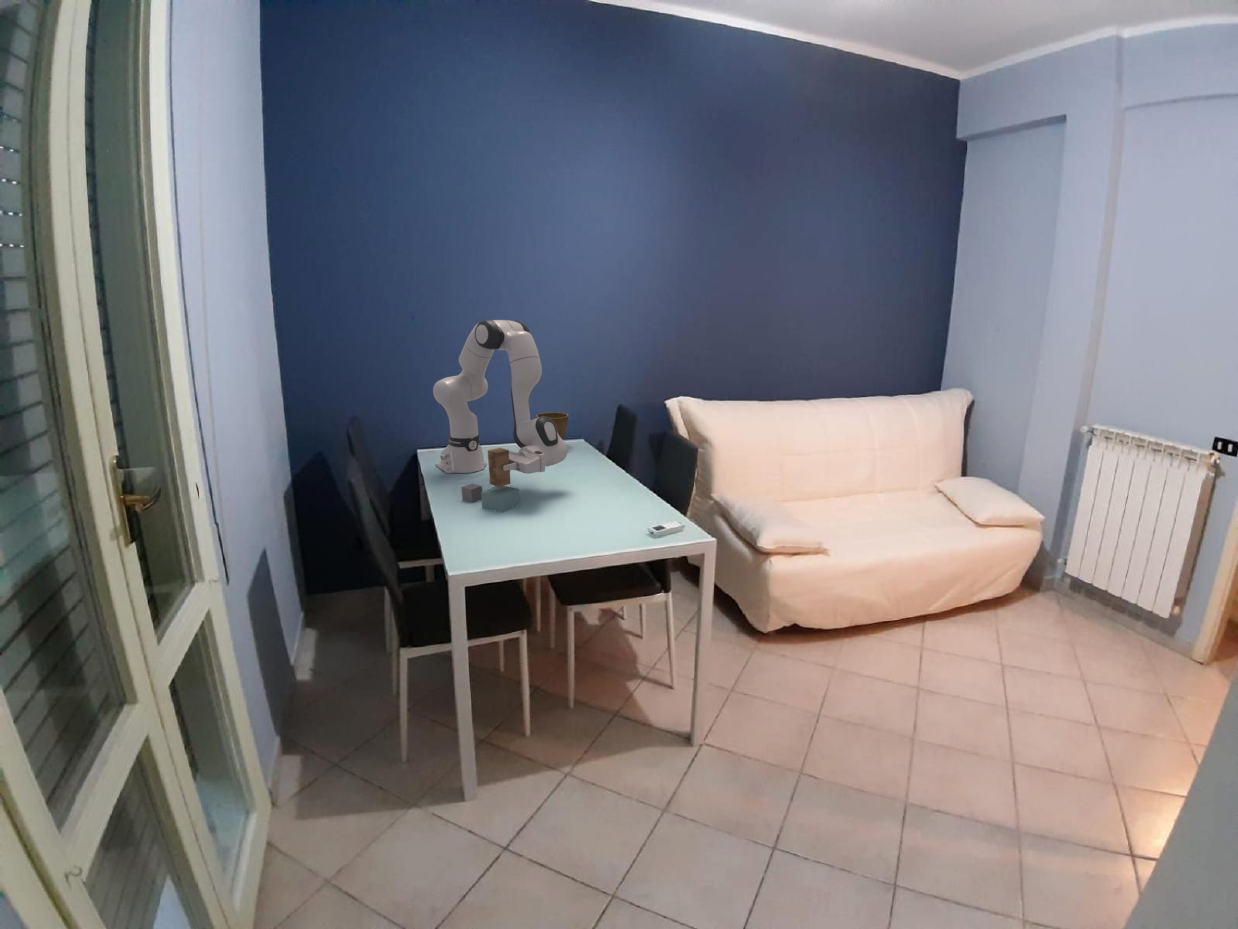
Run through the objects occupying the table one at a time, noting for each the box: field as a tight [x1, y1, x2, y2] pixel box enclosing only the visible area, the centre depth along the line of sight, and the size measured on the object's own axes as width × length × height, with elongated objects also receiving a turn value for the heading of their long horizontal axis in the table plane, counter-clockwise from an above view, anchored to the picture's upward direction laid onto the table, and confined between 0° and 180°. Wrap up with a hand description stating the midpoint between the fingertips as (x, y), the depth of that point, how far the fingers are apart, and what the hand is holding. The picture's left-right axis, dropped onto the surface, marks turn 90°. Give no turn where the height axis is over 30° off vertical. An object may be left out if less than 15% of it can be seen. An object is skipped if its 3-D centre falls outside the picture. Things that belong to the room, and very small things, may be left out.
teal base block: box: [481, 485, 520, 513], centre depth 211 cm, size 9×9×6 cm
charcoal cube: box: [461, 483, 483, 504], centre depth 217 cm, size 5×5×5 cm
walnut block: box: [487, 447, 511, 487], centre depth 208 cm, size 5×5×12 cm
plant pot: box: [535, 412, 569, 441], centre depth 286 cm, size 15×15×16 cm
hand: (496, 466), depth 207 cm, fingers closed on walnut block, 5 cm apart
